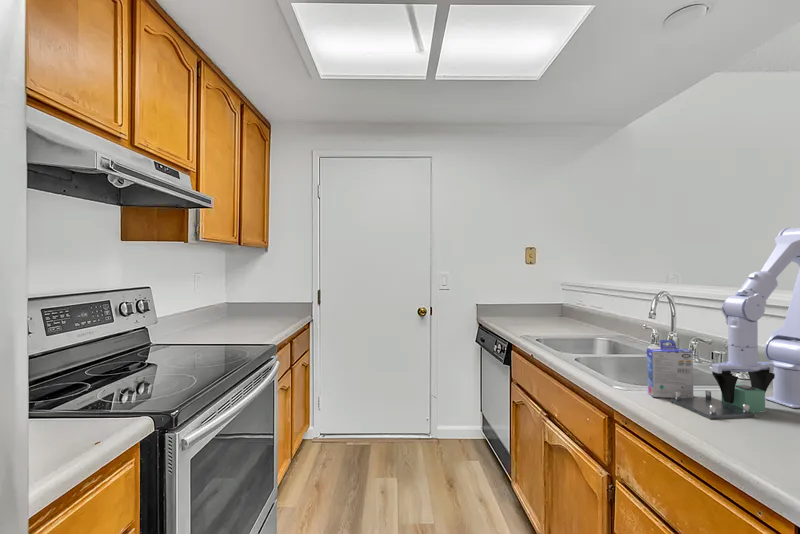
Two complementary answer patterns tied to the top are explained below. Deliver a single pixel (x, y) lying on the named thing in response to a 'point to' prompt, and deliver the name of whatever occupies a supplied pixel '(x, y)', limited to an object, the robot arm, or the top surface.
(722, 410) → the chassis
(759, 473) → the top surface
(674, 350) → the ink cartridge box
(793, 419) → the top surface
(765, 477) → the top surface
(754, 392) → the block
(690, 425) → the top surface
